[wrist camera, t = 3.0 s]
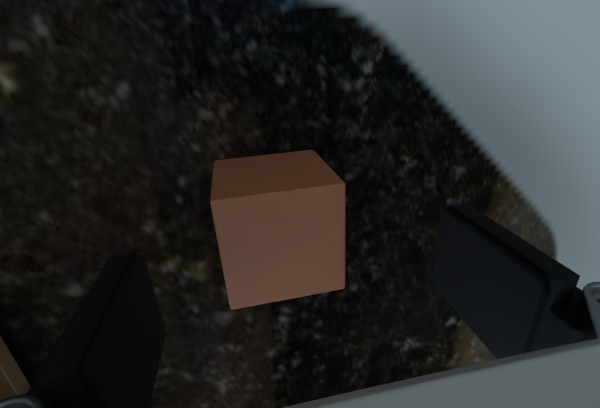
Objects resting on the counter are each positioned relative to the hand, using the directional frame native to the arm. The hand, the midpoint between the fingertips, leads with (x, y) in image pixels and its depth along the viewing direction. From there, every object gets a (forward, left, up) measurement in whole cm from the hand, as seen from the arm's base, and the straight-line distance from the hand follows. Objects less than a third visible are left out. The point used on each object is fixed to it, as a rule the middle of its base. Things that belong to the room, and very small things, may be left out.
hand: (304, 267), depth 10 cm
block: (0, 0, -6) cm, 6 cm away
